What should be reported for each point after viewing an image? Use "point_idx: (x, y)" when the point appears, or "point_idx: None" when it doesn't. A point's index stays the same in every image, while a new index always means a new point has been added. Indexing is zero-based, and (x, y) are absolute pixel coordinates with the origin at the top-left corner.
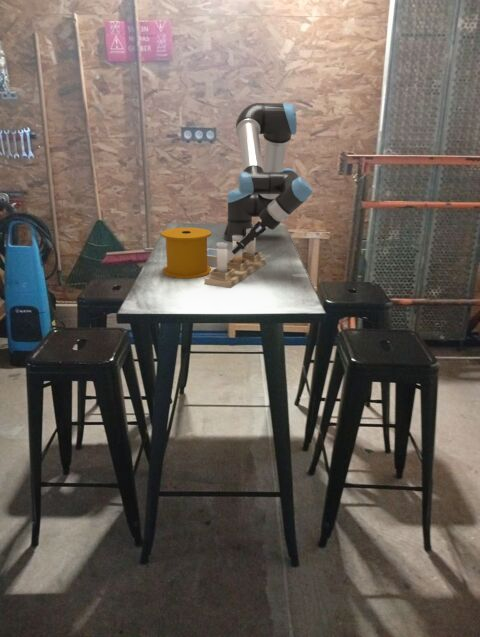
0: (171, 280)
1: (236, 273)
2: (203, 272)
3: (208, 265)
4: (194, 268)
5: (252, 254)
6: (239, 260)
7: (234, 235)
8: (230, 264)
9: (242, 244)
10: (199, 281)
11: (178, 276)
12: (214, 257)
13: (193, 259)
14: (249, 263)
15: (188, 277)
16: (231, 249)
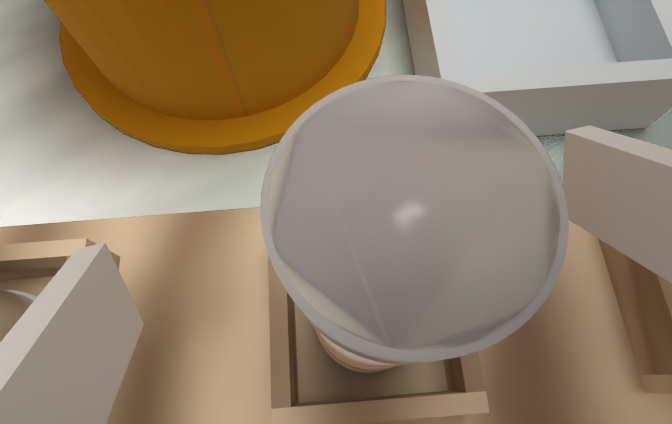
0: (10, 36)
1: (188, 410)
2: (198, 119)
3: (412, 52)
4: (103, 65)
5: None
6: (335, 357)
7: (417, 108)
8: (270, 284)
9: (650, 227)
10: (40, 184)
11: (61, 36)
12: (432, 44)
13: (52, 2)
14: (574, 353)
15: (78, 89)
16: (9, 340)
